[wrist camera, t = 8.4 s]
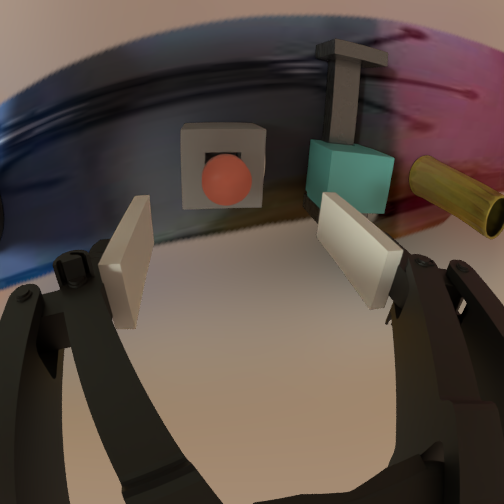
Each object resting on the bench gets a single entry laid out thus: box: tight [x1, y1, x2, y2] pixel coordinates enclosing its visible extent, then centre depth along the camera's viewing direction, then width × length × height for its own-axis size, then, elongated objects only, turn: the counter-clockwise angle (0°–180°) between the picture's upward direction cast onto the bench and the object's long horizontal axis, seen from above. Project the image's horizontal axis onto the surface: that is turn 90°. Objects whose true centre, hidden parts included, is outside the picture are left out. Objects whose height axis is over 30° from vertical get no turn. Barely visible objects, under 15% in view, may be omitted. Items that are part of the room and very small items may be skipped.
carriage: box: [306, 139, 395, 214], centre depth 30 cm, size 6×7×7 cm
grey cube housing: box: [181, 122, 266, 210], centre depth 27 cm, size 7×7×7 cm
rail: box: [303, 39, 388, 223], centre depth 29 cm, size 19×6×5 cm, turn 177°
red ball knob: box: [202, 154, 252, 206], centre depth 23 cm, size 4×4×5 cm
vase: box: [409, 155, 504, 239], centre depth 29 cm, size 6×6×14 cm
